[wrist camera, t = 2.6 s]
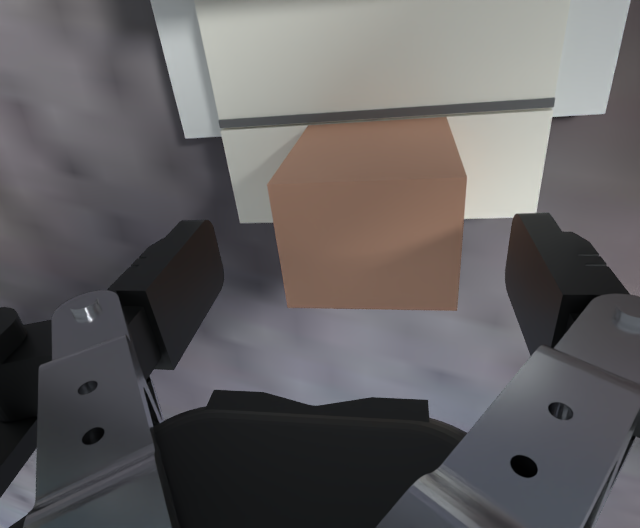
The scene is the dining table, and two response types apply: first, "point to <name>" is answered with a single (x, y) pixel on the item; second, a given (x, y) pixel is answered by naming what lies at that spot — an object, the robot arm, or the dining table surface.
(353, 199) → the tan block on plate
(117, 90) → the dining table surface
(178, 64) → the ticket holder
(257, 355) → the dining table surface
